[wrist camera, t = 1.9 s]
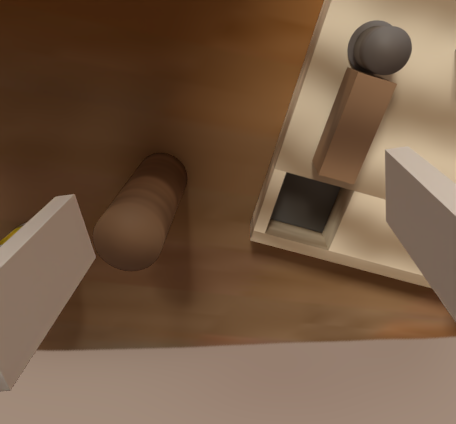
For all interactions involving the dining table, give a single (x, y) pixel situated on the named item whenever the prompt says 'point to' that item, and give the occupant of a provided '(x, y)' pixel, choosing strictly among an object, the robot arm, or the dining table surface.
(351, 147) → the folding leg
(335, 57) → the board
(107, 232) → the loose leg
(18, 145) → the dining table surface
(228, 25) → the dining table surface
